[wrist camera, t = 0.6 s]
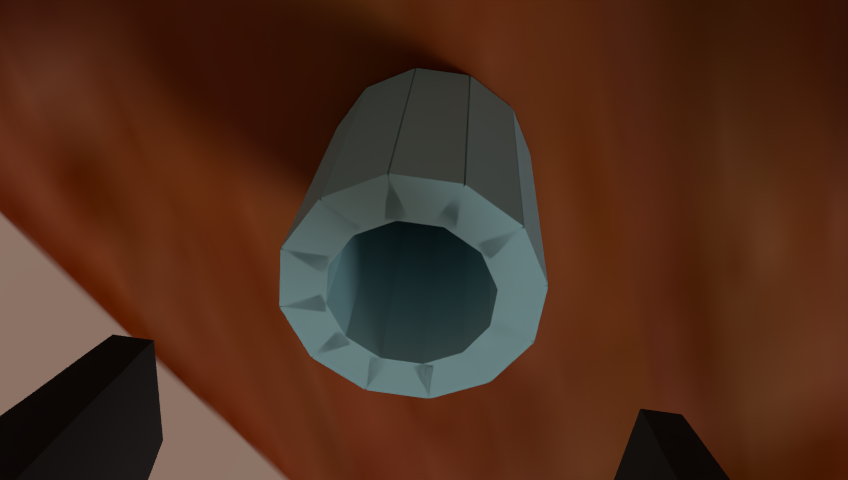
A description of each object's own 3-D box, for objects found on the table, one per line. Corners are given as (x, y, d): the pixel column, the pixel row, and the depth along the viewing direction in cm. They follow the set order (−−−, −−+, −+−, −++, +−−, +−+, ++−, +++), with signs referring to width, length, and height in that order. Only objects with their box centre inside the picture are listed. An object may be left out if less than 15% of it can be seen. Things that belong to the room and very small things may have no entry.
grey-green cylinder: (544, 85, 18) (570, 198, 12) (508, 258, 20) (517, 411, 15) (341, 57, 18) (282, 159, 12) (330, 233, 20) (277, 377, 15)
